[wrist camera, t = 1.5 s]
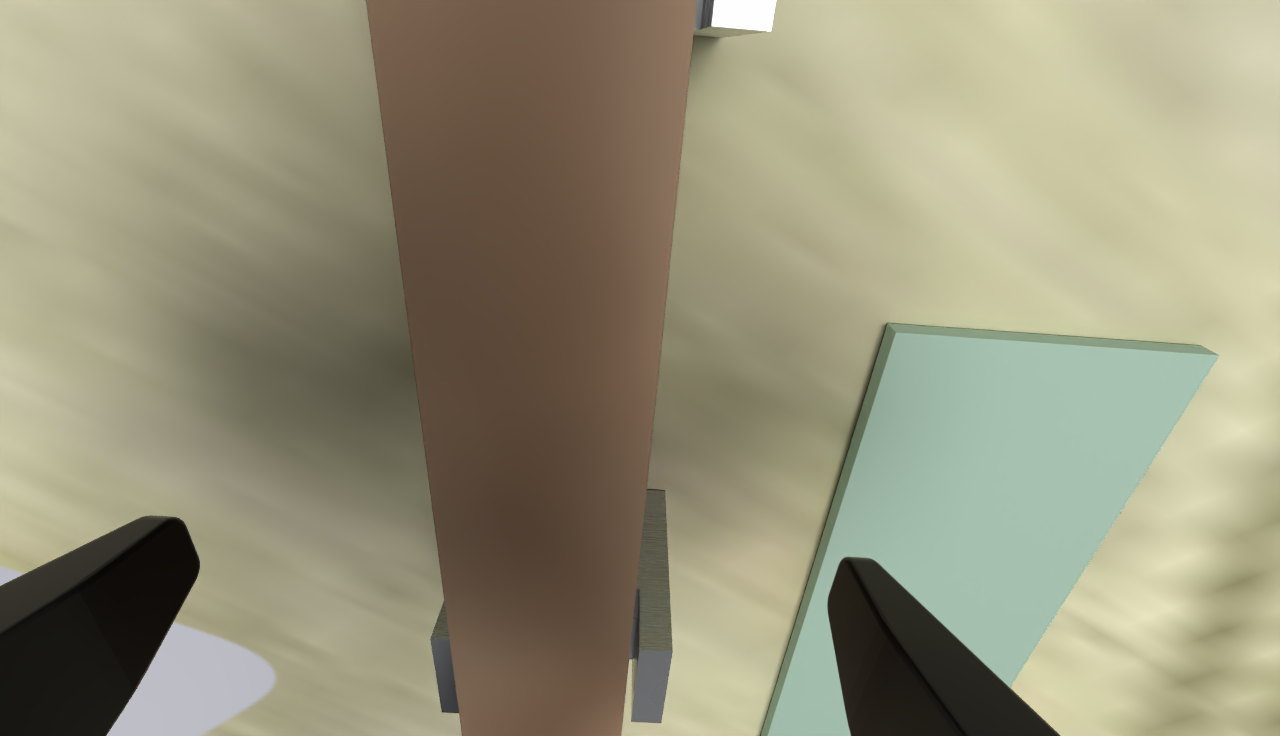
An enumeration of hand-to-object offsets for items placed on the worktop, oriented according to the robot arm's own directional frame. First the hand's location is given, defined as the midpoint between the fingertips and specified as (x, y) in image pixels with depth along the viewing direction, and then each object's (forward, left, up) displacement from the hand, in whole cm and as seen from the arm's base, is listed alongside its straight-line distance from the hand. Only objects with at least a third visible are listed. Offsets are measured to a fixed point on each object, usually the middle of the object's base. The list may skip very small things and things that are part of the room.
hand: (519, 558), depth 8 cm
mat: (+13, -12, -9) cm, 20 cm away
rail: (0, 0, -5) cm, 5 cm away
